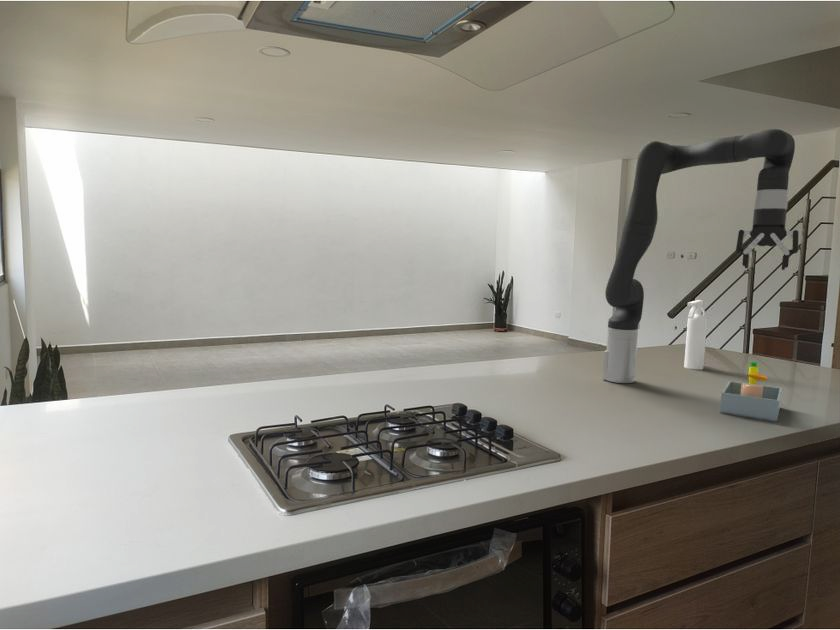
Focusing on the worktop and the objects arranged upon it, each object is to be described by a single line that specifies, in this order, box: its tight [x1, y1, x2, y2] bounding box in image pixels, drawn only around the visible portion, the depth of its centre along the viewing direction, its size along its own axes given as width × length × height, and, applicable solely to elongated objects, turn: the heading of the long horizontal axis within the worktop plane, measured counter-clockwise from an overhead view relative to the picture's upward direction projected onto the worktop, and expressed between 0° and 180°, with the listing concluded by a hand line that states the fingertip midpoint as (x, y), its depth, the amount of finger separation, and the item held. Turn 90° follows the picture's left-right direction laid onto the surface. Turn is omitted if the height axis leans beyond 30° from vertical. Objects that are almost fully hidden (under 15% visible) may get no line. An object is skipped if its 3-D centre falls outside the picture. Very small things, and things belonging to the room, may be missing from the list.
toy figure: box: [747, 361, 768, 385], centre depth 161 cm, size 7×4×12 cm, turn 19°
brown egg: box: [740, 382, 764, 398], centre depth 155 cm, size 5×5×7 cm
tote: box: [719, 380, 783, 423], centre depth 158 cm, size 13×17×6 cm
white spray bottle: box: [683, 299, 708, 370], centre depth 213 cm, size 7×12×25 cm, turn 125°
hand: (764, 269), depth 157 cm, fingers open, 8 cm apart
